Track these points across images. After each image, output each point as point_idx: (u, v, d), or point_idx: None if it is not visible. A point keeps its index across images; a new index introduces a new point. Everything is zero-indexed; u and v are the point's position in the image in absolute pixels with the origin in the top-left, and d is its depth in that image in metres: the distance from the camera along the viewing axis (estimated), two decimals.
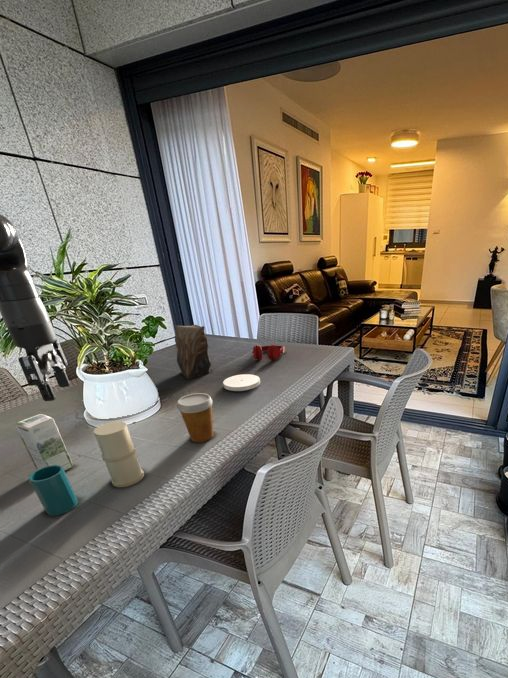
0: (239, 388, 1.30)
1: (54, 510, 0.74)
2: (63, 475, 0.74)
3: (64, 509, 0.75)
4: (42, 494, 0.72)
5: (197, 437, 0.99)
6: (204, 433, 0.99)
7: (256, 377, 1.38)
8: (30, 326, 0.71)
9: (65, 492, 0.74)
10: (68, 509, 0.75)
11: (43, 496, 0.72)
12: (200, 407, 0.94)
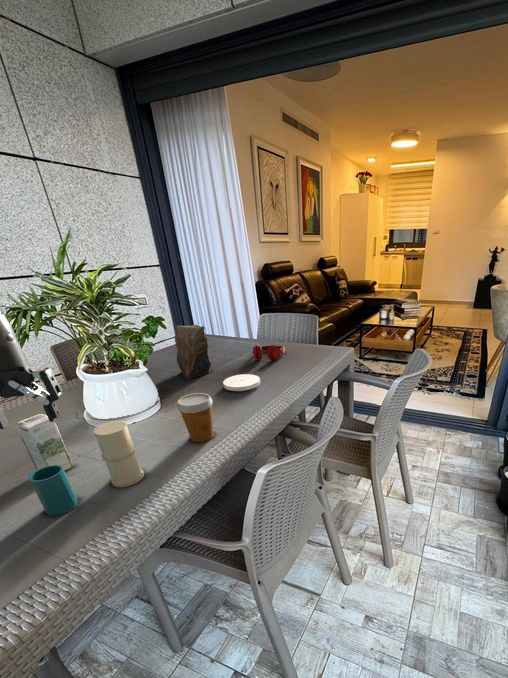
0: (239, 388, 1.30)
1: (54, 510, 0.74)
2: (63, 475, 0.74)
3: (64, 509, 0.75)
4: (42, 494, 0.72)
5: (197, 437, 0.99)
6: (204, 433, 0.99)
7: (256, 377, 1.38)
8: None
9: (65, 492, 0.74)
10: (68, 509, 0.75)
11: (43, 496, 0.72)
12: (200, 407, 0.94)
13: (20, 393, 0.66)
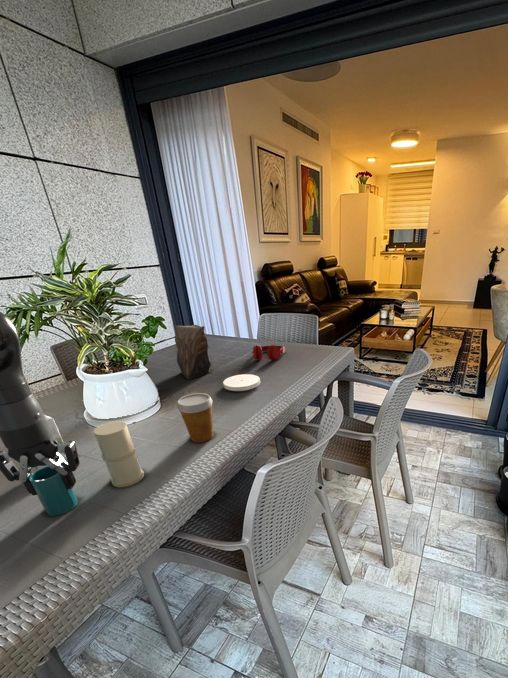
0: (239, 388, 1.30)
1: (54, 510, 0.74)
2: None
3: (64, 509, 0.75)
4: (43, 494, 0.72)
5: (197, 437, 0.99)
6: (204, 433, 0.99)
7: (256, 377, 1.38)
8: None
9: (65, 492, 0.74)
10: (68, 509, 0.75)
11: (43, 496, 0.72)
12: (200, 407, 0.94)
13: None
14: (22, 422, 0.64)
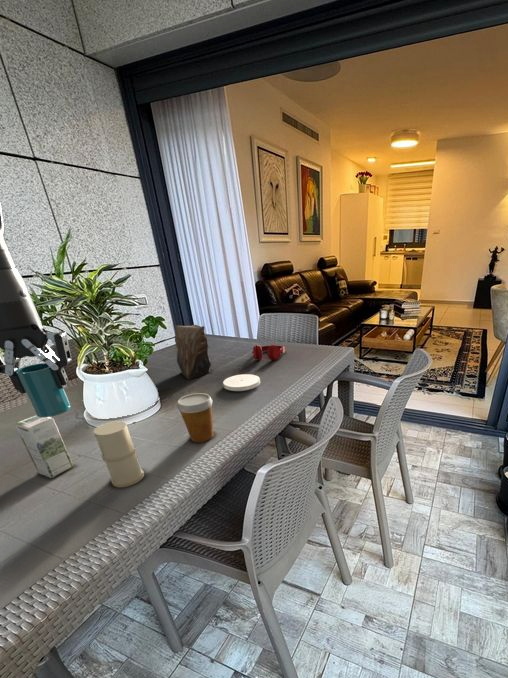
0: (239, 388, 1.30)
1: (44, 410, 0.67)
2: None
3: (55, 411, 0.68)
4: (31, 389, 0.65)
5: (197, 437, 0.99)
6: (204, 433, 0.99)
7: (256, 377, 1.38)
8: None
9: (56, 391, 0.67)
10: (60, 412, 0.68)
11: (32, 393, 0.65)
12: (200, 407, 0.94)
13: (33, 353, 0.64)
14: (5, 295, 0.57)
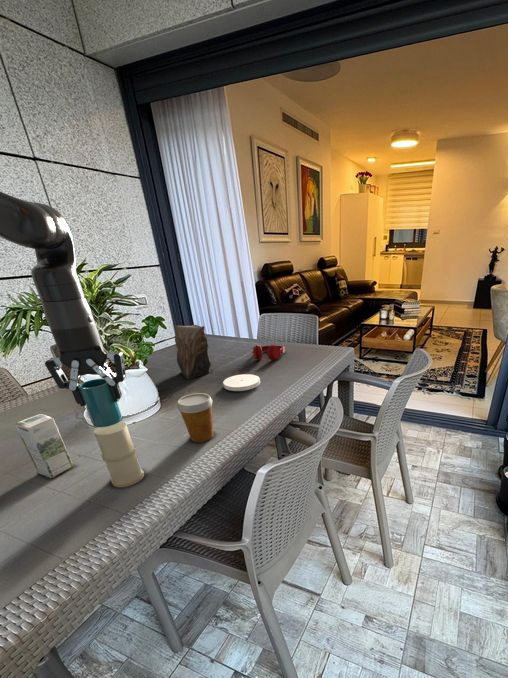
0: (239, 388, 1.30)
1: (101, 421, 0.75)
2: None
3: (111, 421, 0.76)
4: (91, 402, 0.73)
5: (197, 437, 0.99)
6: (204, 433, 0.99)
7: (256, 377, 1.38)
8: (50, 329, 0.66)
9: (112, 404, 0.75)
10: (114, 422, 0.77)
11: (92, 406, 0.73)
12: (200, 407, 0.94)
13: (95, 371, 0.72)
14: (77, 322, 0.65)
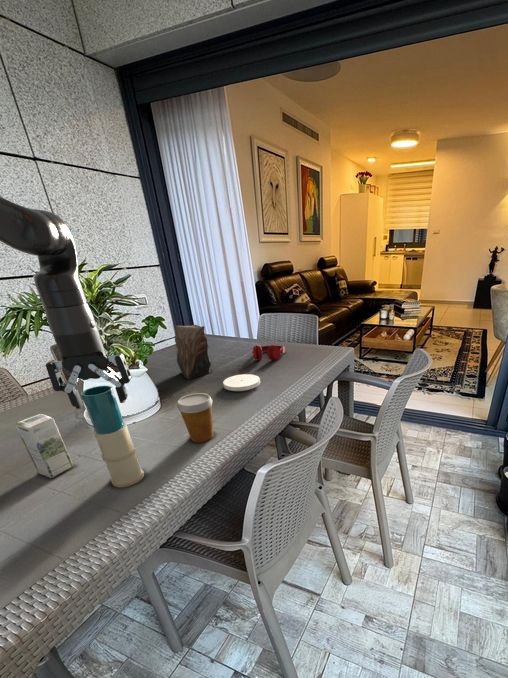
0: (239, 388, 1.30)
1: (103, 428, 0.76)
2: (113, 394, 0.76)
3: (113, 428, 0.77)
4: (94, 409, 0.74)
5: (197, 437, 0.99)
6: (204, 433, 0.99)
7: (256, 377, 1.38)
8: (53, 335, 0.67)
9: (114, 411, 0.76)
10: (116, 429, 0.77)
11: (94, 413, 0.74)
12: (200, 407, 0.94)
13: (97, 376, 0.72)
14: (79, 327, 0.66)
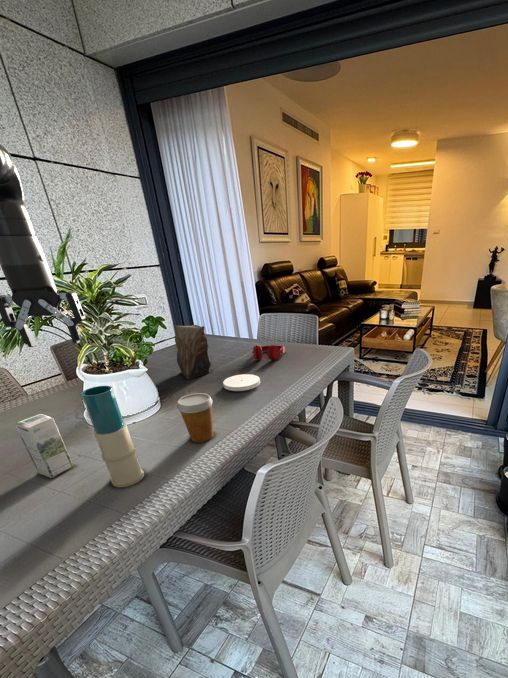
0: (239, 388, 1.30)
1: (103, 428, 0.76)
2: (113, 394, 0.76)
3: (113, 428, 0.77)
4: (94, 409, 0.74)
5: (197, 437, 0.99)
6: (204, 433, 0.99)
7: (256, 377, 1.38)
8: None
9: (114, 411, 0.76)
10: (116, 429, 0.77)
11: (94, 413, 0.74)
12: (200, 407, 0.94)
13: (48, 313, 0.72)
14: (26, 258, 0.66)
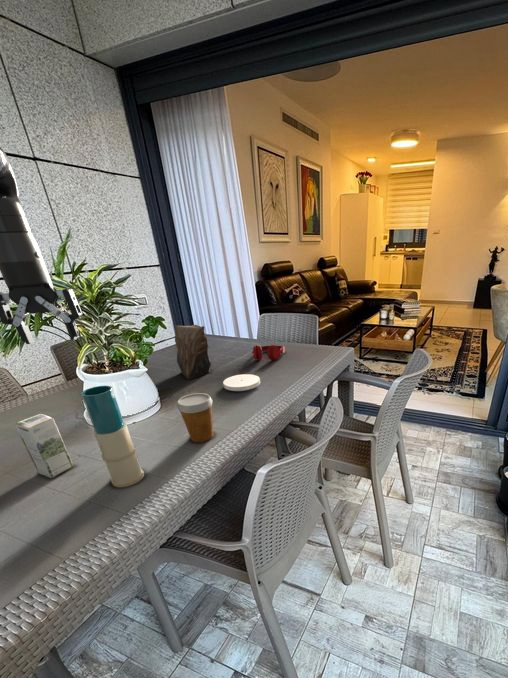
0: (239, 388, 1.30)
1: (103, 428, 0.76)
2: (113, 394, 0.76)
3: (113, 428, 0.77)
4: (94, 409, 0.74)
5: (197, 437, 0.99)
6: (204, 433, 0.99)
7: (256, 377, 1.38)
8: None
9: (114, 411, 0.76)
10: (116, 429, 0.77)
11: (94, 413, 0.74)
12: (200, 407, 0.94)
13: (45, 309, 0.73)
14: (22, 255, 0.66)
